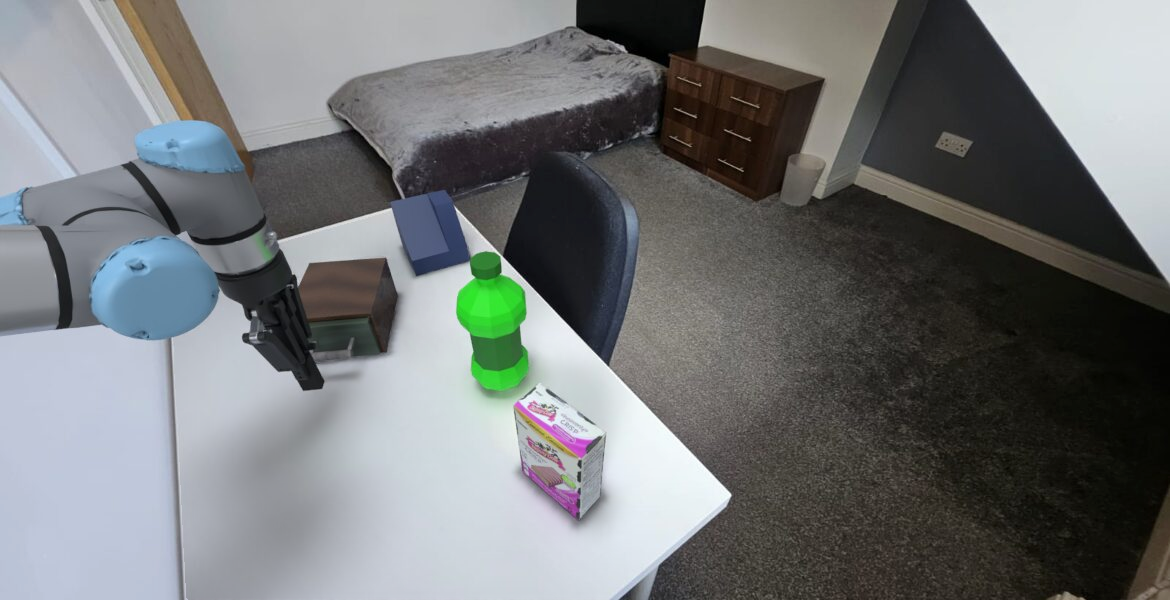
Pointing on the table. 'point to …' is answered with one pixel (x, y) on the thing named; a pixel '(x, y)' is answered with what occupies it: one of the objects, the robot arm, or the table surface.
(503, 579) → the table surface
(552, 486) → the candy bar box
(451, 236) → the phone stand
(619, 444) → the table surface
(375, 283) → the cabinet
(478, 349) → the plastic bottle
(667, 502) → the table surface
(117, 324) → the robot arm
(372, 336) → the drawer
